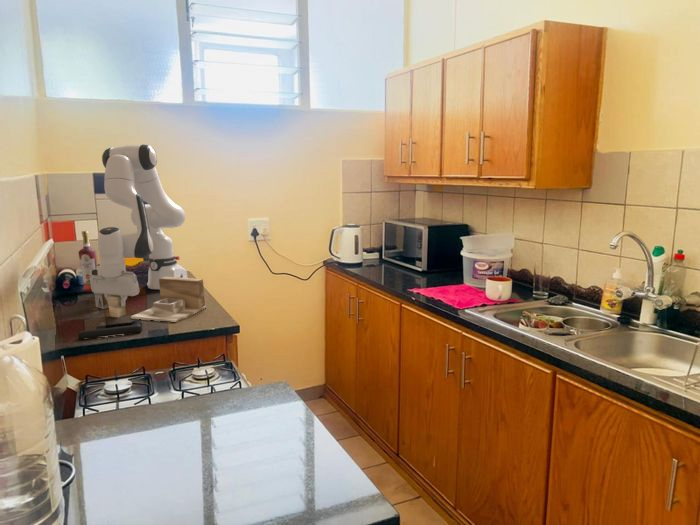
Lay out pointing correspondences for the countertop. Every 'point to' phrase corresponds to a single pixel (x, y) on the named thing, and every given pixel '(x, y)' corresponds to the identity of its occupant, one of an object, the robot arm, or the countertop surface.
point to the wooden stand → (176, 300)
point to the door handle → (112, 330)
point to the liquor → (87, 261)
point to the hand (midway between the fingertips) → (116, 305)
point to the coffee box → (101, 301)
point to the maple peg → (116, 306)
